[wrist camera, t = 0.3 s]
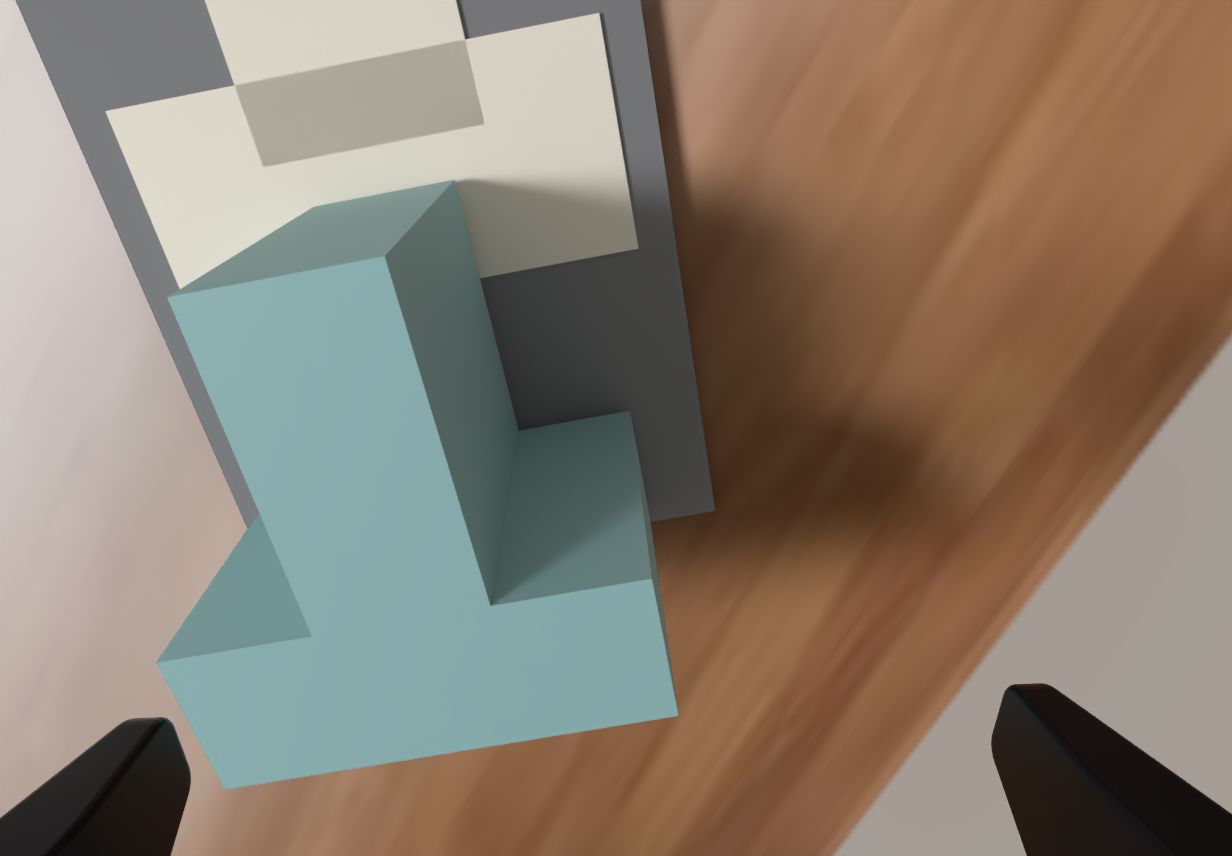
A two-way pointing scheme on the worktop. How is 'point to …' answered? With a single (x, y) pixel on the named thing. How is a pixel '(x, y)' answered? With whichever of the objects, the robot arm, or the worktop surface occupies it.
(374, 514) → the t slider
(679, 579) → the worktop surface
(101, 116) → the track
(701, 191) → the worktop surface
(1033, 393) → the worktop surface
